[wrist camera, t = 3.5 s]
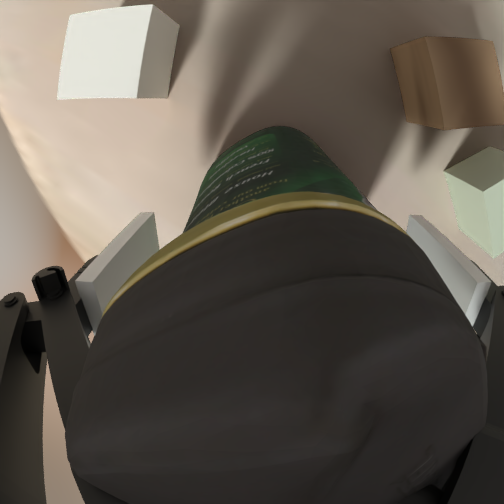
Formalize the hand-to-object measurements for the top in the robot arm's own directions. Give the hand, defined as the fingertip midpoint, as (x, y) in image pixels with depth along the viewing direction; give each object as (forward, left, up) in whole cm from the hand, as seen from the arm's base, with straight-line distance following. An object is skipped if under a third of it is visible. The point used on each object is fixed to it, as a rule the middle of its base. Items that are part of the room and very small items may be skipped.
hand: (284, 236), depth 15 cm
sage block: (-15, -2, -5) cm, 16 cm away
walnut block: (-10, -9, -5) cm, 14 cm away
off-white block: (+9, -10, -5) cm, 14 cm away
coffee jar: (0, 0, -6) cm, 6 cm away
